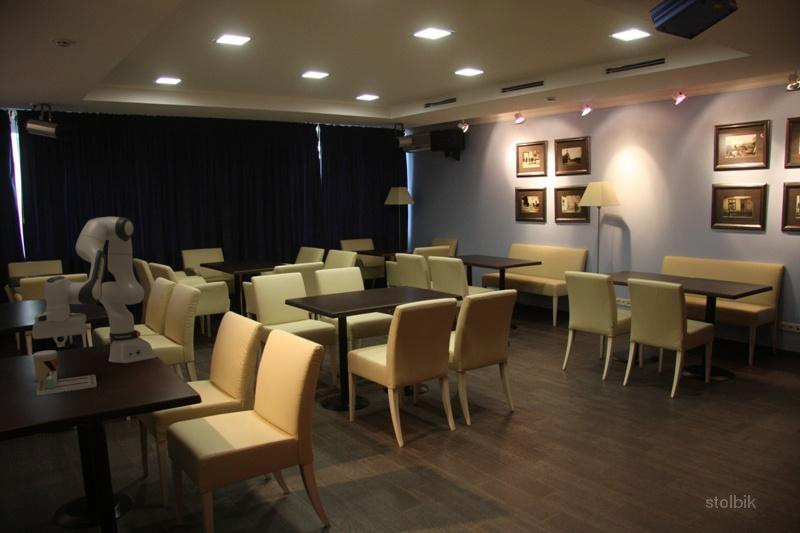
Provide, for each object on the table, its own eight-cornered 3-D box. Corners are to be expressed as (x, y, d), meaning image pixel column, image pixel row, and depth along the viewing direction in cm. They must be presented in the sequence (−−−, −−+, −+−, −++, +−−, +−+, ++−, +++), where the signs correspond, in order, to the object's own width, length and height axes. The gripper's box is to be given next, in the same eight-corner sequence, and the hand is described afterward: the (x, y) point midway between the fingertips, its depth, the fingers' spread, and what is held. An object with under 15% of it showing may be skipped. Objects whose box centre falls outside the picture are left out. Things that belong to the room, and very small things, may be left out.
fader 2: (57, 380, 261) (56, 370, 260) (56, 382, 257) (56, 372, 256) (50, 381, 260) (49, 371, 259) (50, 383, 256) (49, 373, 255)
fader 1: (54, 385, 253) (53, 375, 253) (53, 388, 249) (53, 377, 249) (47, 386, 252) (46, 376, 252) (47, 389, 248) (46, 378, 248)
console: (95, 378, 269) (95, 373, 269) (96, 386, 256) (96, 381, 256) (38, 386, 259) (37, 381, 258) (36, 395, 246) (36, 390, 245)
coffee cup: (48, 382, 264) (45, 355, 262) (29, 381, 266) (27, 354, 264) (63, 376, 273) (61, 350, 272) (46, 375, 275) (44, 349, 273)
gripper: (85, 311, 264) (88, 341, 266) (31, 316, 255) (34, 348, 256) (86, 313, 259) (88, 344, 260) (30, 318, 249) (33, 351, 251)
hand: (61, 346), depth 258 cm, fingers closed
